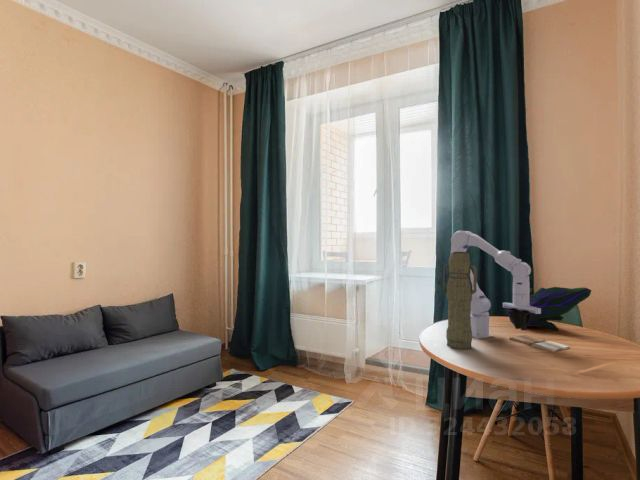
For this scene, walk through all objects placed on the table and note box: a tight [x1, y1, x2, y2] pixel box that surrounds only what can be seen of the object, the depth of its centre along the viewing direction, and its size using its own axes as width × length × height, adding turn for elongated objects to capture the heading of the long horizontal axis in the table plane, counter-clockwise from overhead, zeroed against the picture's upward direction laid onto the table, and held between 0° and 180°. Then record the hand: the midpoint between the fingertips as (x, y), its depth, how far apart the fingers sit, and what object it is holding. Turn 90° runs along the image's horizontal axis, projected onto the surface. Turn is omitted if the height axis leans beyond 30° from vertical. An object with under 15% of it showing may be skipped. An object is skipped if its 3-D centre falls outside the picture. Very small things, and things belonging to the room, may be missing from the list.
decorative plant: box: [505, 286, 592, 332], centre depth 167 cm, size 21×26×30 cm
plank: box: [509, 334, 547, 346], centre depth 144 cm, size 10×8×1 cm
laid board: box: [530, 340, 571, 353], centre depth 136 cm, size 10×8×1 cm
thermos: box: [442, 251, 478, 351], centre depth 138 cm, size 9×12×35 cm
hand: (520, 329), depth 143 cm, fingers closed
